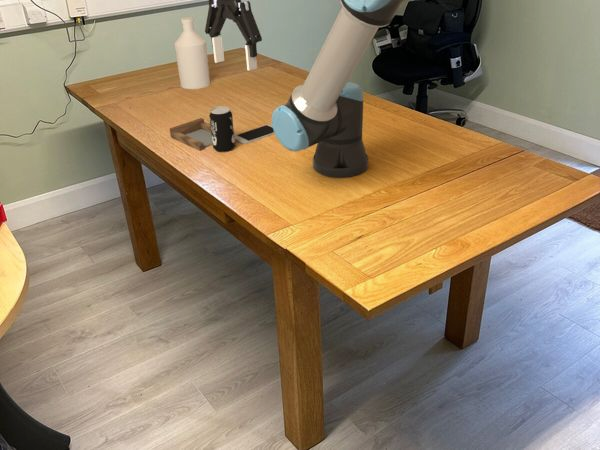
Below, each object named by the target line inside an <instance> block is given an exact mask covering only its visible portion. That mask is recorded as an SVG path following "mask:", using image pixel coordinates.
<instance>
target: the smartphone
mask: <svg viewBox="0 0 600 450" xmlns="http://www.w3.org/2000/svg"><path fill="white" fill-rule="evenodd" d="M272 135H275V133H274V129H273V127H272V123H267V124H264V125H262V126H259V127H256V128H253V129H250V130H246V131H243V132H241V133H238V134H234V138H235V142H238V143H240V144H242V145H246V144H249V143H252V142H254V141H258V140H261V139H263V138H267V137H270V136H272Z"/></svg>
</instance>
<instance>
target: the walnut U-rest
mask: <svg viewBox="0 0 600 450" xmlns="http://www.w3.org/2000/svg"><path fill="white" fill-rule="evenodd" d="M201 129H203V130H206V131H208V132H210V133H211V126H210V123H207V122H206V121H205V119H204V118H202V117H200V118H196V119H194V120H191V121H188V122H185V123H182V124H179V125H176V126H173V127H169V133H170V139H172V140H173V139H174V140H175V141H178V142H180V143H182V144H185V145H187V146H189V147H191V148H193V149H195V150H197V151H203V150H205V148H204V144H203V143H202V142H200V141H198V140H195V139H193V138H191V137H189V136H186V134H189V133H192V132H195V131H198V130H201Z"/></svg>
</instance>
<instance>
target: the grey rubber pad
mask: <svg viewBox="0 0 600 450" xmlns="http://www.w3.org/2000/svg"><path fill="white" fill-rule="evenodd" d="M186 136H189V137H191V138H193V139H195V140H198V141H200V142H202V143H203V144H204V149H205V148H207V147H209V146H213V142H212V134H211V133H210V132H208V131H206V130H203V129H200V130H198V131H195V132H192V133H189V134H186Z"/></svg>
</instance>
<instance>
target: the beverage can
mask: <svg viewBox="0 0 600 450" xmlns="http://www.w3.org/2000/svg"><path fill="white" fill-rule="evenodd" d="M209 111H210V113H209V124H210V126H211V134H212V142H213V145H212V147H213V149H214V150H215V151H216V152H219V153H228V152H230V151H233V150H234V148H235V147H236V140H235V138H234V135H235V129H234V128H235V127H234V119H233V112H232V111H231V108H230V107H228V106H215V107H213V108H211V109H210V110H209Z"/></svg>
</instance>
